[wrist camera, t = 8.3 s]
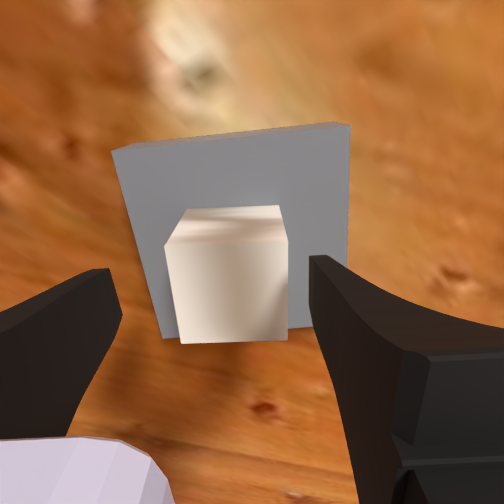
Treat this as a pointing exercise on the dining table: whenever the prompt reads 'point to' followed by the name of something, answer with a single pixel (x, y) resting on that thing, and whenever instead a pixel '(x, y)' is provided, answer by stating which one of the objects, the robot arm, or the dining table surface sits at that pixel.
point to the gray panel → (241, 197)
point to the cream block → (230, 274)
